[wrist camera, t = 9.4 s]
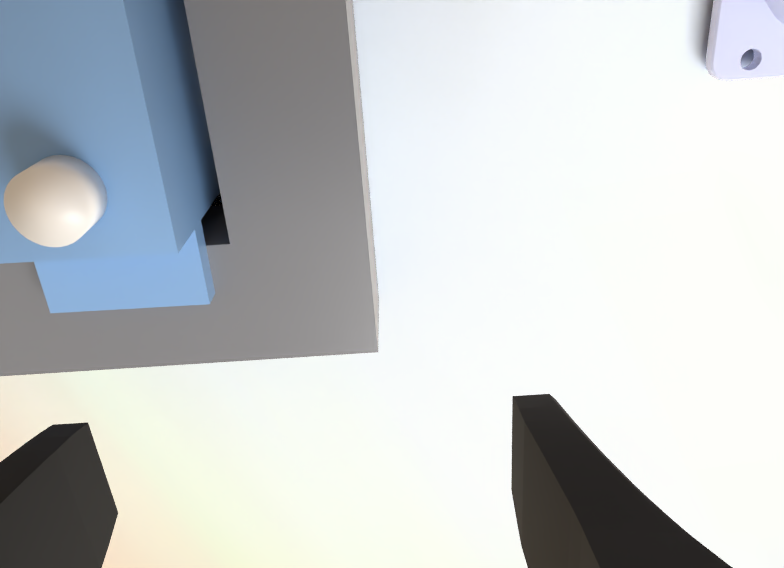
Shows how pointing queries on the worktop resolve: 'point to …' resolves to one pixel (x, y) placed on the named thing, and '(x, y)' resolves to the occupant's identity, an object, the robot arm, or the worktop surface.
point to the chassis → (247, 210)
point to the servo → (104, 153)
